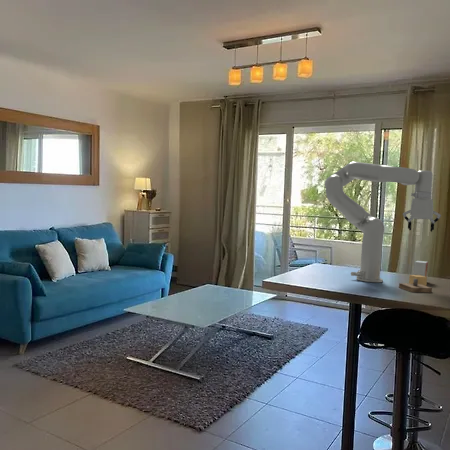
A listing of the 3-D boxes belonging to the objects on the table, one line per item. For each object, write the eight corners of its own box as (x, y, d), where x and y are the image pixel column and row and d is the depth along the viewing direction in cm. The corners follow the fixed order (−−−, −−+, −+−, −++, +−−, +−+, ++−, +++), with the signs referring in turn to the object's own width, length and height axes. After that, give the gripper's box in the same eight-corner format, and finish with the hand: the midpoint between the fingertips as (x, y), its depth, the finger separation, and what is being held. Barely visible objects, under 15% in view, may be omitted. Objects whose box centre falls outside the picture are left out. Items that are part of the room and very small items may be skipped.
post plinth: (411, 292, 202) (412, 280, 202) (399, 287, 212) (399, 276, 211) (431, 292, 204) (432, 281, 203) (418, 287, 213) (419, 277, 213)
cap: (415, 287, 214) (416, 276, 214) (408, 285, 220) (409, 274, 220) (426, 287, 215) (427, 277, 215) (419, 285, 221) (420, 275, 221)
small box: (424, 283, 226) (426, 262, 226) (412, 282, 229) (414, 261, 228) (426, 281, 233) (428, 261, 232) (415, 280, 236) (416, 260, 235)
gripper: (403, 195, 222) (401, 230, 223) (442, 196, 215) (439, 232, 216) (404, 195, 229) (402, 229, 230) (442, 196, 222) (440, 231, 223)
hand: (420, 230), depth 223 cm, fingers open, 9 cm apart
